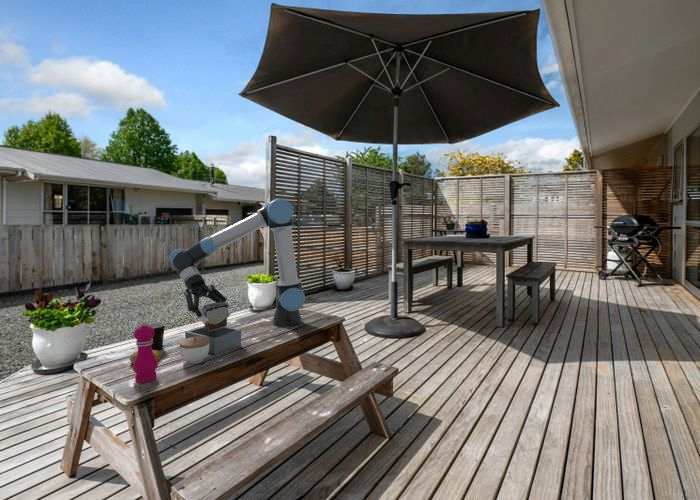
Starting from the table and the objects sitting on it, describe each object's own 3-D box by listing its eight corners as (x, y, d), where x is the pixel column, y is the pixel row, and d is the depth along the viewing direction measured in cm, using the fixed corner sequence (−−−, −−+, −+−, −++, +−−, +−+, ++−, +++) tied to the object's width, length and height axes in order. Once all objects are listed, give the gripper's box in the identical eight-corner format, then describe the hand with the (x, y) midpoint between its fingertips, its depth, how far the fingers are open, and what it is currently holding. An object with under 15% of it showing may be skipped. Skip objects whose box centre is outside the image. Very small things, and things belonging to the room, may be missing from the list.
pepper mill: (128, 381, 121) (126, 322, 120) (147, 373, 128) (145, 317, 127) (144, 385, 119) (142, 325, 117) (162, 376, 126) (160, 319, 124)
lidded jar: (175, 361, 139) (174, 337, 139) (201, 353, 148) (201, 330, 147) (188, 368, 133) (187, 343, 132) (215, 359, 141) (215, 336, 140)
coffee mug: (155, 353, 147) (154, 329, 146) (137, 351, 149) (136, 327, 148) (174, 344, 159) (174, 321, 158) (157, 342, 160) (156, 320, 159)
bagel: (167, 359, 141) (166, 347, 140) (137, 369, 132) (136, 356, 132) (154, 354, 147) (153, 343, 146) (125, 363, 138) (124, 351, 137)
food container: (219, 323, 161) (219, 301, 160) (229, 325, 158) (229, 302, 157) (195, 330, 150) (194, 306, 150) (205, 332, 147) (204, 308, 147)
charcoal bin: (213, 339, 166) (212, 323, 165) (241, 345, 157) (241, 330, 156) (185, 348, 153) (185, 331, 153) (214, 356, 144) (214, 339, 144)
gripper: (210, 281, 171) (234, 318, 164) (164, 288, 151) (189, 331, 144) (218, 270, 168) (243, 307, 161) (171, 277, 148) (197, 320, 141)
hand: (217, 319), depth 153 cm, fingers closed on food container, 11 cm apart
